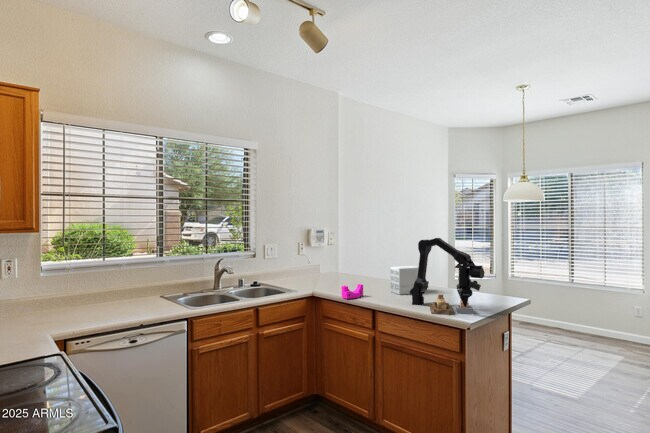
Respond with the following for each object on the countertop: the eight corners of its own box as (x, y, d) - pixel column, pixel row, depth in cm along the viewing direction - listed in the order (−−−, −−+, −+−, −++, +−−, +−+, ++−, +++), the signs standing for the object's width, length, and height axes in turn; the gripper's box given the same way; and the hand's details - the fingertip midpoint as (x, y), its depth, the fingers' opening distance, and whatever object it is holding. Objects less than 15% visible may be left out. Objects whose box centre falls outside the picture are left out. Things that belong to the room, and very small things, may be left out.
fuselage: (438, 311, 215) (438, 298, 215) (437, 306, 226) (437, 294, 226) (445, 311, 214) (445, 298, 214) (444, 306, 225) (444, 294, 225)
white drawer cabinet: (410, 290, 284) (410, 265, 284) (421, 293, 271) (420, 267, 271) (389, 291, 278) (389, 266, 278) (399, 294, 265) (399, 268, 265)
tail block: (460, 311, 214) (460, 302, 214) (460, 309, 218) (460, 300, 218) (468, 311, 213) (468, 302, 213) (467, 310, 217) (467, 301, 217)
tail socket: (457, 313, 212) (457, 307, 212) (455, 309, 221) (455, 304, 221) (473, 314, 211) (473, 308, 211) (471, 310, 219) (471, 305, 219)
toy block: (346, 298, 253) (346, 287, 253) (341, 297, 259) (341, 285, 259) (365, 296, 261) (365, 285, 261) (359, 295, 266) (359, 284, 266)
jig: (431, 313, 212) (431, 309, 212) (429, 305, 231) (429, 301, 231) (454, 314, 209) (454, 310, 209) (450, 306, 229) (450, 302, 229)
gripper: (482, 279, 205) (482, 309, 205) (476, 274, 223) (476, 301, 223) (460, 278, 207) (460, 308, 207) (456, 274, 226) (456, 301, 225)
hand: (464, 304), depth 216 cm, fingers open, 9 cm apart
